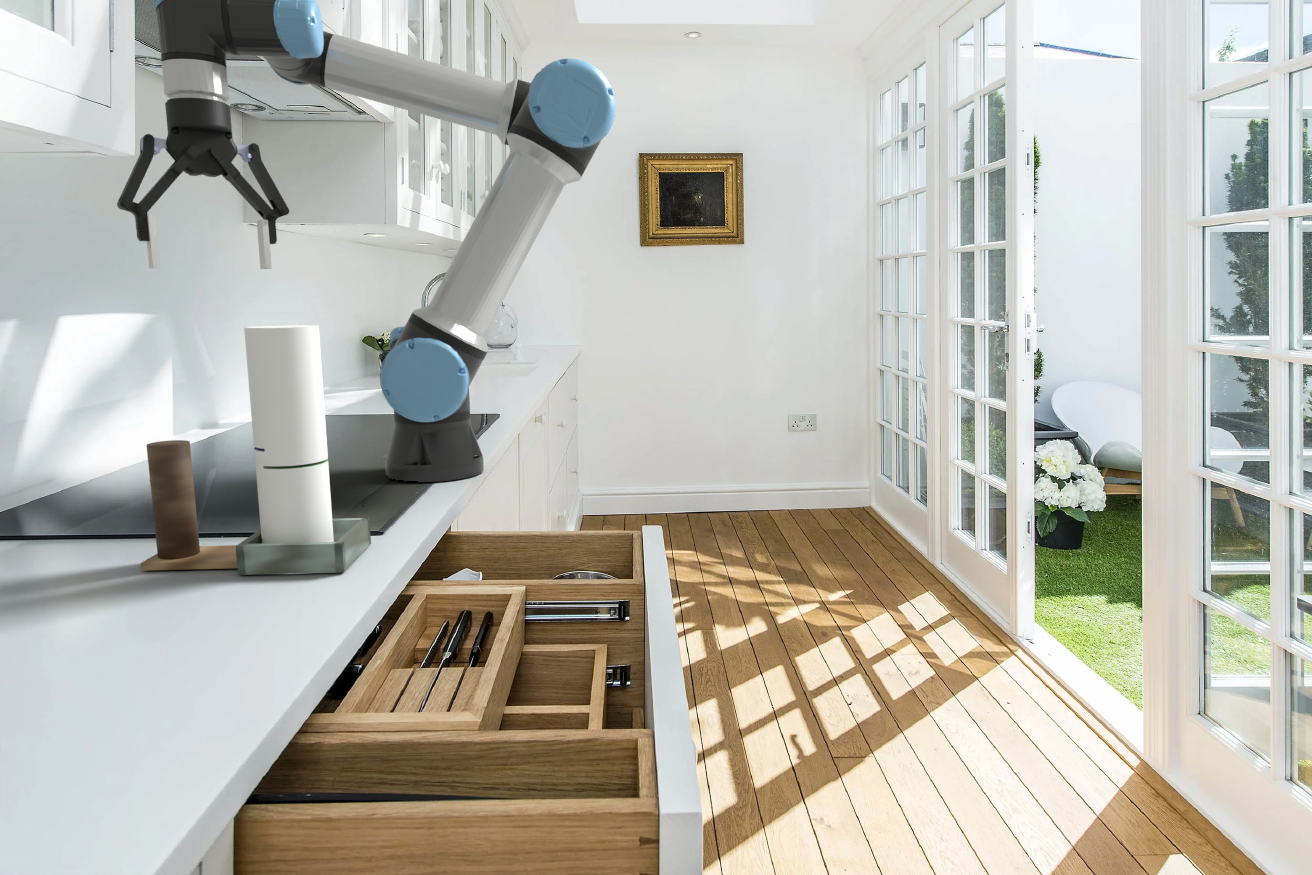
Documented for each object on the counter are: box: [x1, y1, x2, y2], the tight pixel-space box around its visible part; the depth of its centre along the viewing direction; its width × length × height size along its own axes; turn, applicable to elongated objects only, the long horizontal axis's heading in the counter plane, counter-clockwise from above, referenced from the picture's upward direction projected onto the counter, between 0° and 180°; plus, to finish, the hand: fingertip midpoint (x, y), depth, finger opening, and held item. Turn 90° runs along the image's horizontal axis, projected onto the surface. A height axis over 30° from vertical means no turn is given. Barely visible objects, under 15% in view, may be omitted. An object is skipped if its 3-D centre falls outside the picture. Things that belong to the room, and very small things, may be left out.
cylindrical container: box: [243, 324, 334, 544], centre depth 95 cm, size 7×7×25 cm
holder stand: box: [140, 439, 372, 576], centre depth 96 cm, size 21×11×13 cm, turn 93°
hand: (212, 268), depth 120 cm, fingers open, 13 cm apart
